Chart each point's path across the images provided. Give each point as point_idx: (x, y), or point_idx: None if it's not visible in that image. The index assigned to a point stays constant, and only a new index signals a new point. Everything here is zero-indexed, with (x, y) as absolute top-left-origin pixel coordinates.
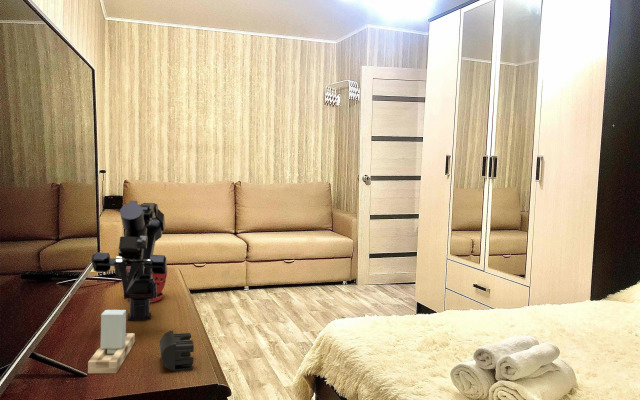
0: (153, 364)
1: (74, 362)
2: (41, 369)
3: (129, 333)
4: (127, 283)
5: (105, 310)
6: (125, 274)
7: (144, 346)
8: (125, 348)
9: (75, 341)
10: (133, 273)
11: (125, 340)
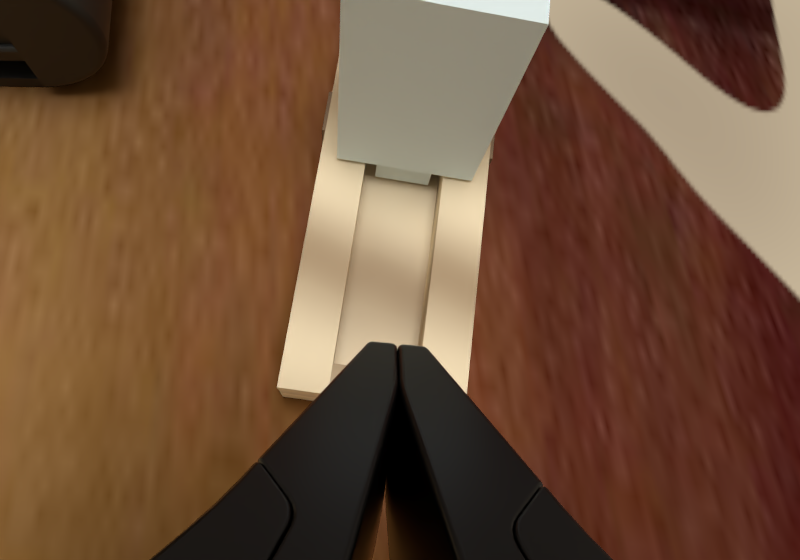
0: (176, 12)
1: (593, 122)
2: (719, 66)
3: (317, 385)
4: (368, 392)
5: (544, 3)
6: (464, 538)
7: (213, 313)
8: (332, 93)
9: (689, 497)
10: (197, 557)
11: (337, 149)
